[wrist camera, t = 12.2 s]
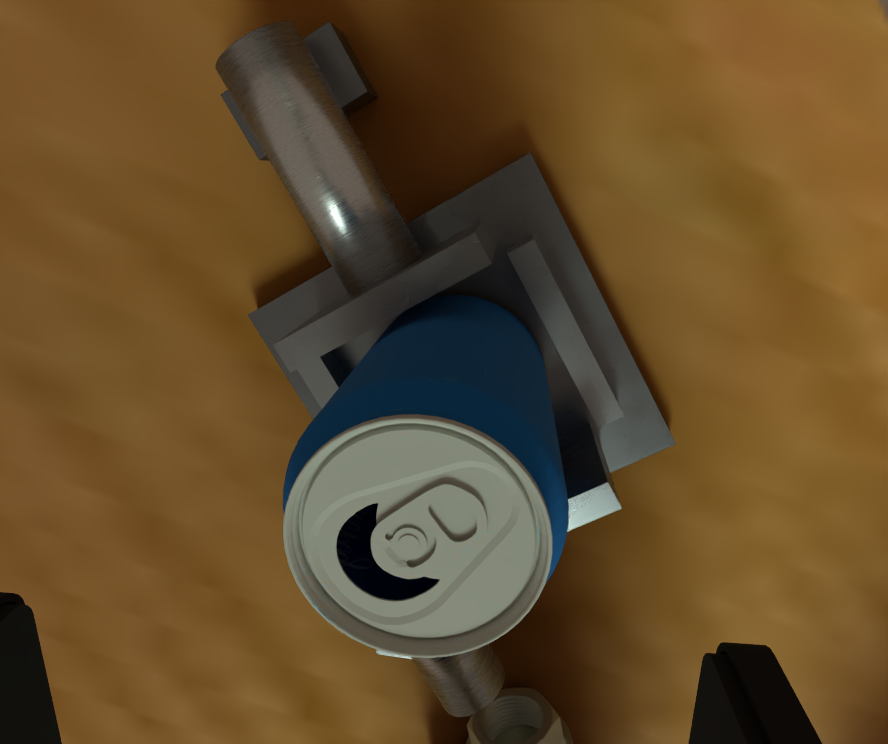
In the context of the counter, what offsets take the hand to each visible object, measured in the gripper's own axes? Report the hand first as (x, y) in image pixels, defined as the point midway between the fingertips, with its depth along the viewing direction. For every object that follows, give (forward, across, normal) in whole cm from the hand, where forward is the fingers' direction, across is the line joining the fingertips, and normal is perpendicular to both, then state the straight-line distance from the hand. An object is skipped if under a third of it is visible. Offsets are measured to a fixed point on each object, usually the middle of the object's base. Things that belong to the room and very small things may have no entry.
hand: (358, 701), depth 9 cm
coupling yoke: (+18, +1, +1) cm, 18 cm away
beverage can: (+17, 0, +1) cm, 17 cm away
